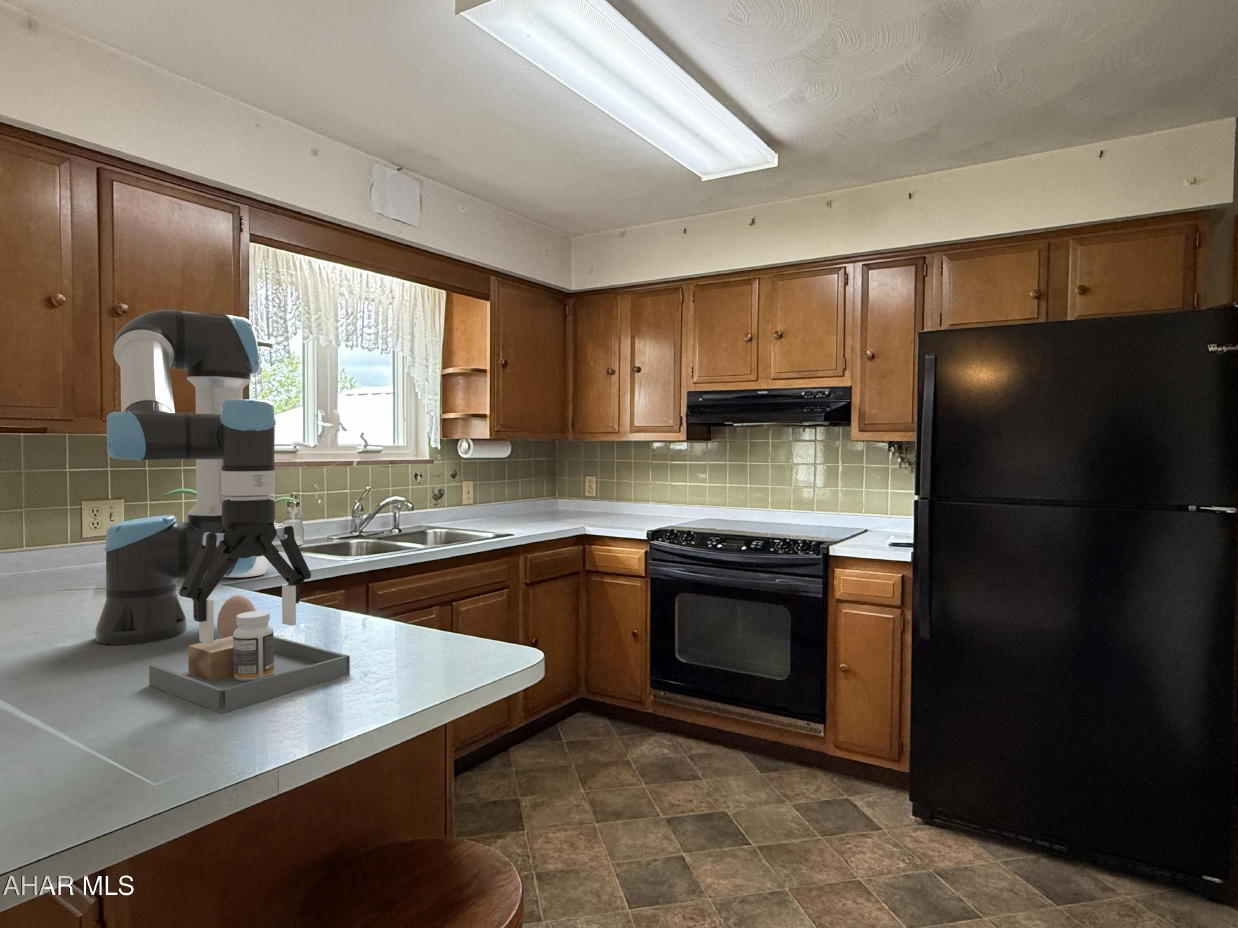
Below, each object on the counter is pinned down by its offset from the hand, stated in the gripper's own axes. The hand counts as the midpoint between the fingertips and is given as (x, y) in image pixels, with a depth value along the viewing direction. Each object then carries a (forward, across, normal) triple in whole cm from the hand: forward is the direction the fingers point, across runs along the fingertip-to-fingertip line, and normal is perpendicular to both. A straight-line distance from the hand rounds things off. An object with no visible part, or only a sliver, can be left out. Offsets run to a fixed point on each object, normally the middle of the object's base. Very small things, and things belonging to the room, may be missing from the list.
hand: (249, 632), depth 115 cm
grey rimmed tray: (+7, 0, 0) cm, 7 cm away
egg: (+8, +10, +22) cm, 25 cm away
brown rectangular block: (+7, 0, +6) cm, 9 cm away
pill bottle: (+7, 0, -1) cm, 7 cm away
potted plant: (+8, +48, +94) cm, 106 cm away
